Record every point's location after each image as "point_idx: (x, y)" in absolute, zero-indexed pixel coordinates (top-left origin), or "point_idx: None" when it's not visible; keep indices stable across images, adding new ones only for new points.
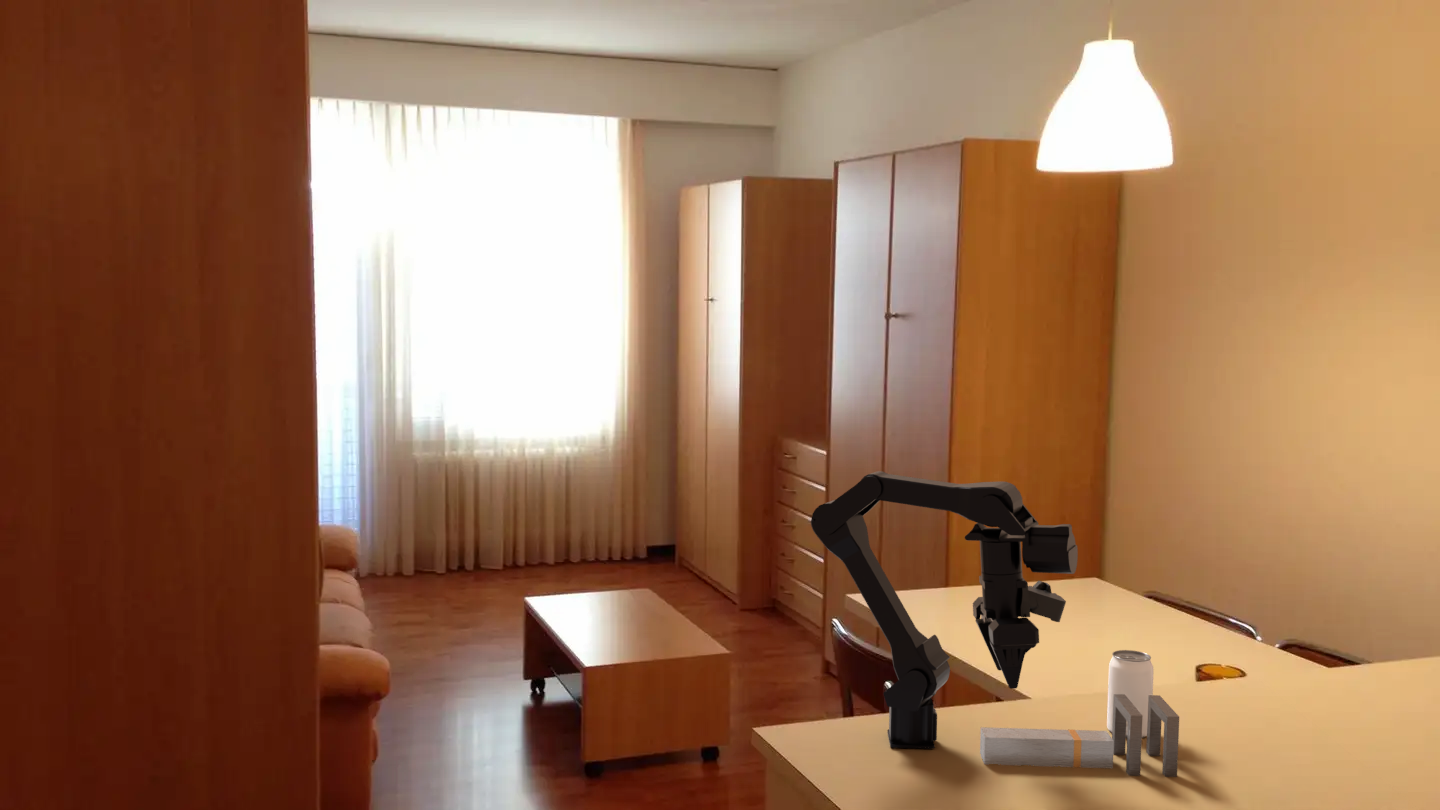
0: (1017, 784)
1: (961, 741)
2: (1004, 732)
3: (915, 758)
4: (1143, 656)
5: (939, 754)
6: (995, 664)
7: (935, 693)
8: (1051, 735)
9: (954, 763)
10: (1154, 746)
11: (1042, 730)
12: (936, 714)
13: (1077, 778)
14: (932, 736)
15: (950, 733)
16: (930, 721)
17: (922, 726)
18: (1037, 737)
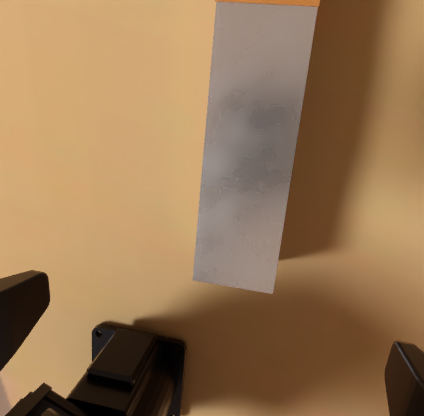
0: (411, 223)
1: (133, 268)
2: (236, 227)
3: (233, 389)
4: None
5: (211, 337)
6: (28, 332)
7: (42, 385)
8: (268, 81)
9: (265, 323)
10: None
11: (222, 99)
12: (130, 379)
13: (394, 42)
14: (157, 351)
15: (87, 277)
16: (145, 383)
17: (159, 396)
18: (283, 136)
